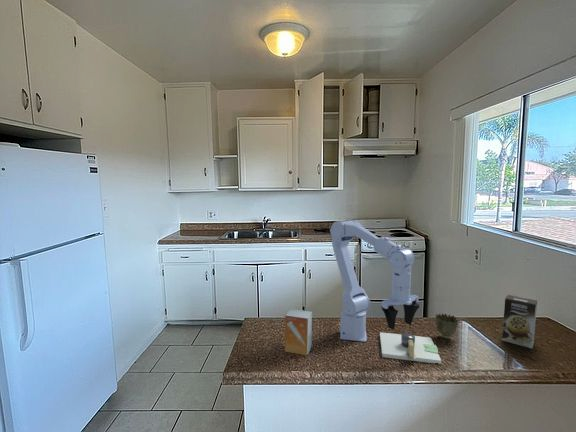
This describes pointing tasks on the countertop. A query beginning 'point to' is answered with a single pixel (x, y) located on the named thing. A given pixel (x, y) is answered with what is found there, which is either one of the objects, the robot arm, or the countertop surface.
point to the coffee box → (519, 321)
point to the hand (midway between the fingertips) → (399, 325)
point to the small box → (298, 331)
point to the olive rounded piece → (446, 325)
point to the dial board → (395, 349)
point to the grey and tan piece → (408, 343)
